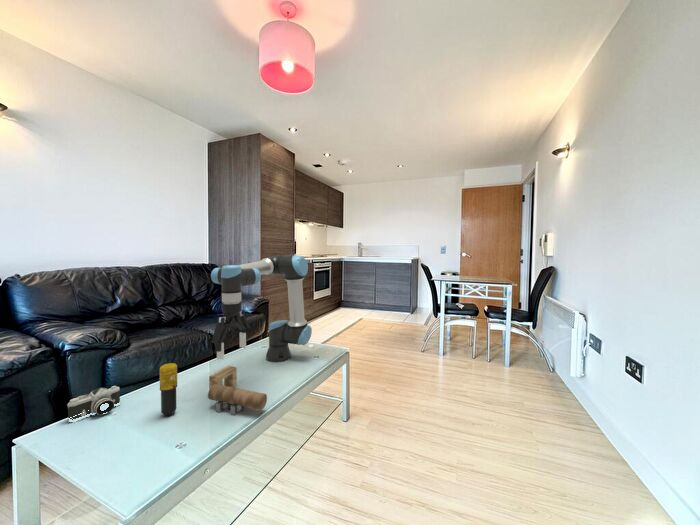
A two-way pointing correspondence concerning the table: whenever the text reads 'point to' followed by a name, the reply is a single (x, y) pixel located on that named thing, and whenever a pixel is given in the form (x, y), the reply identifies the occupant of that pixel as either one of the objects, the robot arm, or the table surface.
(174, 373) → the microphone
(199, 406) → the table surface
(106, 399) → the camera
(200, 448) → the table surface
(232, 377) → the wooden arch block
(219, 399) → the axle
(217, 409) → the grey h-shaped block
